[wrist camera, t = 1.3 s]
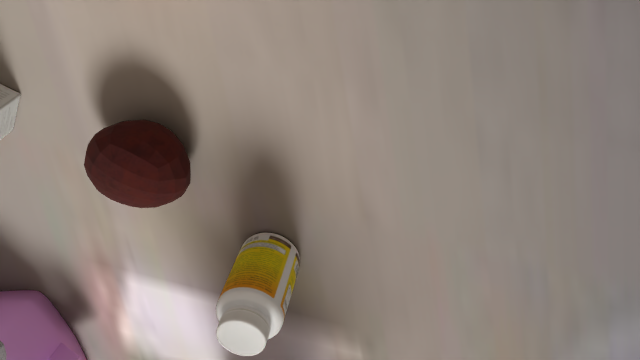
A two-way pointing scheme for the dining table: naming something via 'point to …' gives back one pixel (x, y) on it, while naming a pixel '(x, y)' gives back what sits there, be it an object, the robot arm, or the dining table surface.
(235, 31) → the dining table surface
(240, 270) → the supplement bottle
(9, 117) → the skincare box
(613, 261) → the dining table surface
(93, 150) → the potato
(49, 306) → the teakettle
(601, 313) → the dining table surface
